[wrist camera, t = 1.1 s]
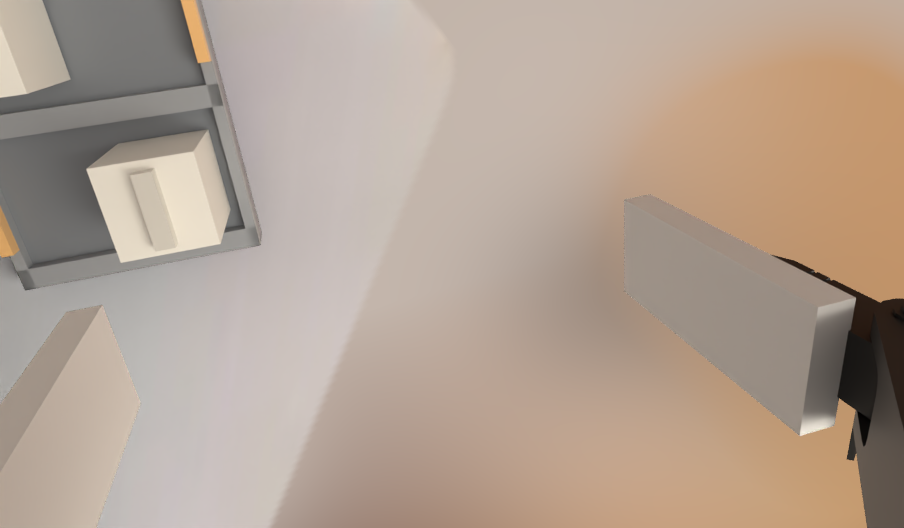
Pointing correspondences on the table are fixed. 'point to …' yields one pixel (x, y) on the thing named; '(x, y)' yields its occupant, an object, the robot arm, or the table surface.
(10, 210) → the frame
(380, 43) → the table surface
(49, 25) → the cream ridged block
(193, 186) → the tab
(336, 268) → the table surface
